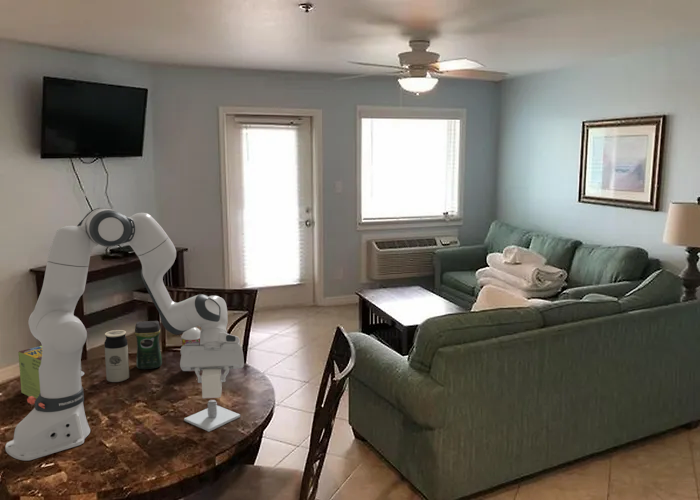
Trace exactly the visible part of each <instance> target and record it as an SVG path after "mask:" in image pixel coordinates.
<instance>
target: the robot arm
mask: <svg viewBox="0 0 700 500" xmlns="http://www.w3.org/2000/svg"><path fill="white" fill-rule="evenodd" d="M123 244H128V246H130V247H131V248H132V251H134V253H135V255H136V257H138V260H139V261H140V264H141V270H140V277H141V279H142V282H143V284H144V286H145V288H146V290H147V292H148V294H149V297H150V298H151V300H152V302H153V304H154V306H155V308H156V309H157V312H158V315H159V317H160V321H161V324H162V326H163V327H164V329H165V330H166V331H167V332H169V333H171V334H172V335H181V334H183V332H185V331H187V330H189V329H191V328H194V327H197V328H198V327H200V328H201V329H200V331H201V332H200V343H186V344H185V345H183V346H182V345H181V347H180V355H181V356H180V361H179V367H180V369H181V370H182V372H195V373H194V374H195V375H196V377H197V383H200V384H202V375H200V374H201V371H203V369H221V370H224V372H223V374H221V378H220V381H221V382H222V383H224V382H226V377H227V376H228V375H229V373H230V370H237V369H238V370H240V369H241V370H242V369H243V367H244V366H245V360H244V352H243V348H242V347H243V346H241V340H240V337H239V336H237V335H234V334H233V335H232V334H230V333H228V331H227V326H228V322H229V321H228V307H227V303H226V301H225V299H224V298H223V297H220V296H219V295H209V296H208V295H207V294H202V293H199V294H197V295H194V296H190V297H189V298H187V299H184V300H182V301H181V300H180V301H179V302H176V301H173V299H172V298H171V296H170V294H169V291H168V289H167V288H166V286H165V283H164V280H163V279H164V275H165V274H166V273H167V272H168V271H169V269H171V268H172V266H173V265H174V263H175V260H176V258H177V250H176V247H175V244H174V243H173V241H172V240H171V238H170V237H169V235H168V234H167V233H166V231H165V230H164V229H163V226H161V225H160V224H159V223H158V222H157V220H156V219H155V218H154V217H153V216H152V215H150V213H147V212H137V213H134V214H132V215H131V216H126V215H125V214H122V213H121V212H118V211H117V210H115V209H113V208H110V207H109V208H108V207H97V208H94V209H92V210H90V211H89V212H88V213H86V215H85V216H84V217H83V219H82V220H81V221H80V222H79V223H78V224H77V225H65V226H62V227H60V228H58V229H57V231H55V233H54V236H53V239H52V241H51V245H50V248H49V252H48V255H47V260H46V266H45V272H44V278H43V283H42V287H41V291H40V294H39V296H38V299H37V302H36V304H35V306H34V308H33V311H32V312H31V313H30V315H29V317H28V321H27V322H28V328H29V331H30V333H31V335H32V336H33V337H34V339H36V340H38V341H39V342H40V344H41V345H40V346H42V360H41V365H40V367H39V382H40V394H39V396H38V398H37V399H36V398H34V397H33V396H30V397H29V396H28V398H26V401H27V403H28V404H30V405H34V407H33V409H31V411H30V412H29V413H28V414H27V415H26V416H25V417H24V418H22V419H21V421H20V422H18V423H17V424H16V426H15V428H14V432H13V439H12V440H9V441H7V442H6V444H5V447H4V449H5V453H7V455H8V456H10V457H12V458H14V459H16V460H20V461H25V462H27V461H32V460H33V461H34V460H36V459H39V458H43V457H46V456H49V455H52V454H54V453H58V452H61V451H65V450H69V449H71V448H75V447H79V446H81V445H82V444H83V445H84V444H85V439H86V438H87V437H88V436H89V435H90V433H91V428H90V426H89V423H88V420H87V417H86V413H85V407H84V404H85V394H84V387H83V386H82V376H81V371H82V368H81V369H80V363H82V361H81V359H82V353H83V348H84V345H85V343H86V341H87V337H88V332H87V329H86V327H85V325H84V324H83V322H82V320H80V318H79V317H78V316H76V315H74V314H75V309H76V306H77V304H78V301H79V300H80V299H81V296H82V295H83V294H84V293H85V290H86V283H87V278H88V271H89V268H90V267H89V266H90V262H91V261H90V260H91V259H90V258H91V255H92V252H93V250H94V249H95V248H96V247H97V246H99V245H100V246H103V247H106V248H107V247H110V248H111V247H116V246H120V245H123Z"/></svg>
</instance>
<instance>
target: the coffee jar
mask: <svg viewBox="0 0 700 500" xmlns="http://www.w3.org/2000/svg"><path fill="white" fill-rule="evenodd" d="M160 334H161V326H160V321H158V320H149V321H148V320H147V321H137V322H136V324H135V327H134V336H135V338H136V368H137V369H139V370H149V369H150V370H151V369H157V368H159V367H161V366H162V364H163V360H162V359H163V357H162V352H161V347H160V345H161V344H160Z"/></svg>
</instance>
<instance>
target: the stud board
mask: <svg viewBox="0 0 700 500" xmlns="http://www.w3.org/2000/svg"><path fill="white" fill-rule="evenodd" d="M239 418H241V414H240V413H238V412H235V411H233V410H230V409H227V408H225V407H222V406H221V405H218V402H217V400H216V399H210V400H208V402H207V407H206V408H204V409H203V410H200V411H198V412H196V413H193V414H190V415H189V416H187V417H184V419H183V421H184V422H186V423H189V424H191V425H193V426H195V427H197V428H199V429H202V430H205V431H207V432H211V431H214V430H215V429H218V428H220V427H222V426H224V425H226V424H228V423H230V422H233V421H235V420H237V419H239Z"/></svg>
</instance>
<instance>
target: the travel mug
mask: <svg viewBox="0 0 700 500" xmlns="http://www.w3.org/2000/svg"><path fill="white" fill-rule="evenodd" d="M126 334H127V331H126V330H123V329H116V330H110V331H109V330H108V331H107V332H105V333H104V336H105V339H104V358H105V359H104V360H105V373H106V374H105V378H106V381H108V382H110V383H119V382H123V381H126V380H127V379H129V378H130V364H129V349H128V347H129V345H128V339H127V337H126Z"/></svg>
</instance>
